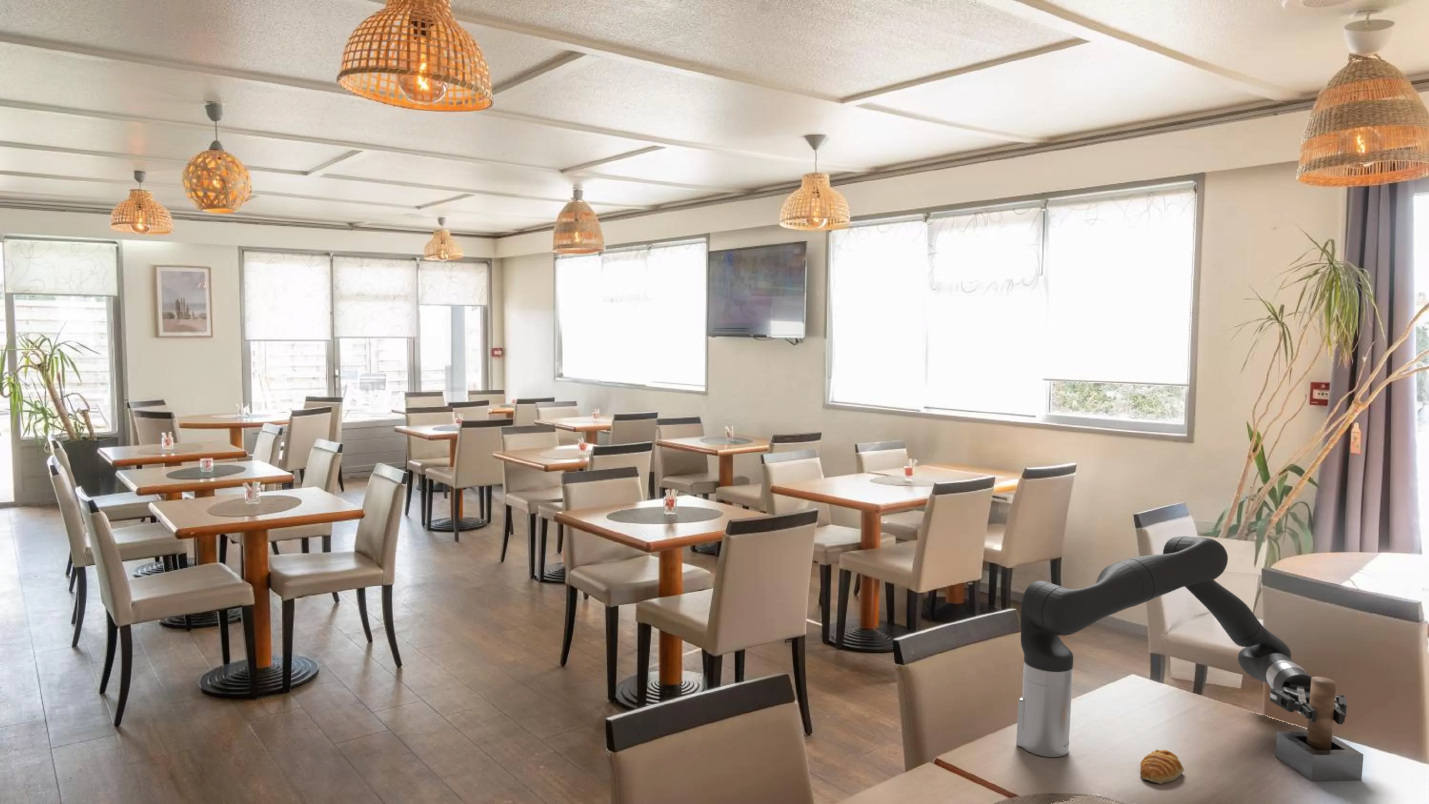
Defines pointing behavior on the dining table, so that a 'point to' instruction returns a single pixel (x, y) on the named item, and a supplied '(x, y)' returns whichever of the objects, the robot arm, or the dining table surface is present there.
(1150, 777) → the pastry
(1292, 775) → the dining table surface
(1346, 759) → the socket block
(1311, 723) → the peg
